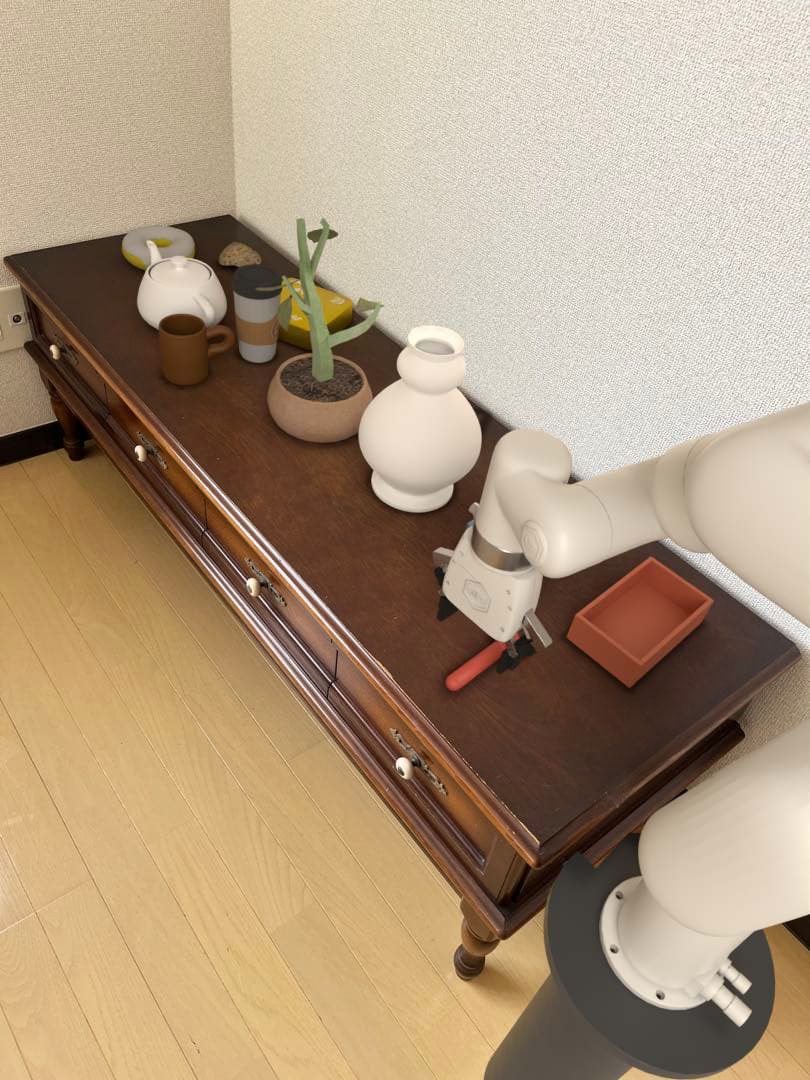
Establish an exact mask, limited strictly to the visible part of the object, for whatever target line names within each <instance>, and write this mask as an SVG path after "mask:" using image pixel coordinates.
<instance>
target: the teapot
mask: <svg viewBox="0 0 810 1080" xmlns="http://www.w3.org/2000/svg"><path fill="white" fill-rule="evenodd" d="M146 243H147V246H148V248H149V251H150V257H151V265H150V266H149V267H148V268H147V270H146V271H144V274H143V276H142V279H141V282H140V284H139V288H138V291H137V292H138V293H137V297H136V298H137V299H136V305H137V309H138V312H139V314H140V316H141V317H142V319H143V320H144V321H145V322H146V323H147V324H148V325H149V326H151V327H153V328H154V329H156V330H157V331H159V323H160V321H161V320H162V319H163V318H165V317H167V316H169V315H173V314H191V315H194V316H197V317H199V318H201V319H202V320H203V321H204V323H205V325H206V329H208V328H211V327H214V326H216V325H219V324H220V323H221V322H222V320H223V319H224V318H225V315H226V313H227V308H228V306H227V305H228V303H227V298H226V294H225V291H224V288H223V287H222V285H221V282H220V280H219V278H218V276H217V275H216V273H215V271H214V269H212V267H211V266H210V265H209V264H208V263H205V262H203V261H201V260H198V259H195V258H193V259H191V258H186V257H184V256H174V257H172V258H166V259H162V257H161V255H160V253H159V250H158V248H157V246H156V245H155V243H154V242H152V241H150V240H148V241H146Z"/></svg>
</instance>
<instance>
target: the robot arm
mask: <svg viewBox="0 0 810 1080" xmlns="http://www.w3.org/2000/svg"><path fill="white" fill-rule="evenodd" d="M572 468H573V459H572V454H571V452H570V450H569V448H568V447H567V445H566V444H565V443H564V442H563V441H562V440H561V439H560V438H558V437H556V436H555V435H553V434H551V433H550V432H547V431H545V430H542V429H537V428H518V429H517V428H516V429H513V430H511V431H509V432H507V433H505V434H504V435H503V436H501V437H500V439H499V440H498V441H497V443H496V444H495V447H494V449H493V452H492V456H491V459H490V463H489V466H488V471H487V473H486V474H487V475H486V477H485V482H484V486H483V489H482V494H481V496H480V500H479V503H478V502H473V503H472V504H471V505H470V506H469V508H468V509H467V510H468V513H469V514H470V515H471V516H472V518H473V519H474V523H473V526H471V527H469V528H468V529H467V530H466V529H465V530H466V531H464V533H463V534H462V536H461V537H460V539H459V541H458V543H457V544H456V547H455V548H454V550H453V549H449V548H445V547H442V546H440V547H438V548H436V549H434V550H433V551H432V552H431V557H432V561H433V566H434V569H433V573H434V576H435V578H436V580H437V582H438V585H439V586H438V587H437V593H438V594H439V595H440V598H439V601H438V605H437V606H438V607H437V608H438V610H437V614H436V620H438V622H444V621H445V620H447V619H448V618H449V617H451V616H452V615H454V614H456V613H457V612H458V611H460V612H461V613H463V614H464V615H465V616H466V617H467V618H468V619H470V620H471V621H472V622H473V623H474V624H475V625H477V626H478V627H479V628H480V629H481V630H482V631H484V632H485V634H487V635H488V636H490V637H491V638H492V639H494V640H495V639H496V640H498V641H500V642H505V645H506V649H505V650H504V651H503V652H502V654H501V657H500V658H499V659H498V662H497V665H496V668H495V671H496V673H497V674H498V675H499V676H501V675H502V674H504V673H506V671H507V670H509V671H510V672H512V671H514V670H515V669H517V668H518V667H519V665H520V664H521V660H522V658H523V656H524V657H532V656H534V655H535V654H539V653H541V652H543V651H546V649H548V648H549V647H551V646H552V645H553V639H552V638H551V636H550V635H549V633H548V632H547V630H546V628H545V627H544V625H543V624H542V623H541V621H540V619H539V618H538V617H537V615H536V614H535V612H536V609H537V607H538V602H539V599H540V594H541V591H542V584H543V579H544V578H543V577H546V578H548V579H549V578H550V579H562V578H565V577H569V576H571V575H574V574H576V573H578V572H581V571H583V570H587V569H588V568H590V567H591V568H592V567H593V566H596V565H597V564H600V563H602V562H604V561H606V560H609V559H611V558H613V557H616V556H619V555H621V554H623V553H626V552H629V551H631V550H634V549H636V548H638V547H641V546H644V545H647V544H649V543H652V542H656V541H660V540H663V539H669V540H671V542H673V543H674V544H675V545H676V546H678V547H680V548H681V549H684V550H686V551H687V552H691V553H695V554H701V555H702V554H704V555H705V554H711V555H712V556H713V557H714V558H715V559H716V560H717V561H718V562H720V563H721V564H722V565H723V566H724V567H725V568H727V569H728V570H729V571H730V572H732V573H733V574H734V575H735V576H737V577H738V578H739V579H740V580H741V581H743V582H744V583H745V584H746V585H748V586H749V587H751V588H752V589H754V591H756V592H757V593H759V594H760V595H762V596H763V597H764V598H766V599H767V600H769V601H770V602H771V603H773V604H774V605H776V606H777V607H778V608H780V609H781V610H783V611H784V612H785V613H787V614H788V615H790V617H792V618H794V619H795V620H797V621H798V622H799V623H801V624H802V625H803V626H805V627H807V628H808V629H810V401H807V402H804V403H801V404H798V405H794V406H790V407H788V408H785V409H781V410H779V411H776V412H772V413H769V414H766V415H763V416H760V417H758V418H754V419H751V420H748V421H744V422H742V423H739V424H736V425H733V426H730V427H727V428H724V429H721V430H717V431H714V432H712V433H709V434H705V435H702V436H700V437H695V438H692V439H689V440H686V441H683V442H680V443H678V444H675V445H673V446H671V447H670V448H668V449H667V450H666V451H665V452H664V453H663V454H660V455H658V456H653V457H651V458H647V459H644V460H641V461H638V462H634V463H632V464H628V465H624V466H622V467H618V468H615V469H612V470H610V471H606V472H603V473H600V474H597V475H594V476H592V477H588V478H585V479H582V480H580V481H576V482H574V483H572V484H571V483H570V484H569V483H568V482H569V479H570V477H571V473H572V470H573V469H572ZM516 633H518V636H519V638H520V639H517V640H516V641H515V639H514V635H515V634H516ZM640 833H641V836H640V840H639V847H638V857H639V865H640V870H641V874H642V876H638V877H633V878H630V879H628V880H626V881H624V882H622V883H621V884H619V885H618V886H617V887H616V888H615V889H614V890H613V891H612V892H611V893H610V895H609V896H608V898H607V899H606V901H605V903H604V905H603V908H602V911H601V914H600V922H599V932H600V940H601V944H602V948H603V952H604V954H605V956H606V959H607V961H608V963H609V965H610V967H611V968H612V970H613V971H614V973H615V975H616V976H617V977H618V978H619V979H620V981H621V982H622V983H623V984H624V985H625V986H626V987H627V988H628V989H629V990H630V991H631V992H633V993H634V994H635V995H636V996H638V997H639V998H641V999H643V1000H644V1001H646V1002H647V1003H650V1004H652V1005H655V1006H657V1007H660V1008H664V1009H669V1010H686V1009H690V1008H694V1007H696V1006H698V1005H700V1004H702V1003H704V1002H705V1001H706V1000H707V1001H709V1000H710V999H712V1000H713V1001H714V1002H715V1003H716V1004H717V1005H718V1006H719V1007H720V1008H721V1009H722V1010H723V1012H724V1013H725V1014H726V1015H727V1016H728V1017H729V1018H730V1019H731V1020H732V1021H733V1022H734V1023H735V1024H736V1025H738V1026H739V1027H740V1026H741V1025H742V1024H743V1023H744V1022H745V1021H746V1020H747V1019H748V1017H749V1016H750V1014H751V1012H752V1010H751V1009H750V1008H749V1007H747V1006H746V1005H745V1004H744V1003H743V1002H742V1001H741V1000H740V999H739V998H738V997H737V996H736V995H735V996H734V995H733V994H732V993H731V992H730V991H729V990H728V989H727V988H726V987H725V986H724V985H723V983H724V980H723V978H724V976H725V977H726V978H727V979H728V980H729V981H730V982H731V983H732V985H733V986H734V987H735V988H736V989H737V990H738V991H739V992H741V993H742V994H744V993H745V992H746V991H747V990H748V989H749V987H750V986H751V984H752V983H751V982H750V981H749V980H748V979H747V978H746V977H745V976H744V975H742V974H741V973H739V972H738V971H737V970H736V969H735V968H734V967H733V966H732V965H731V962H732V961H730V960H729V959H728V958H727V957H728V956H729V954H730V953H731V952H732V951H733V950H734V949H735V948H736V947H737V946H739V945H740V944H741V943H742V942H743V941H744V940H745V939H746V938H747V937H748V936H749V935H751V934H752V933H753V932H754V931H756V930H760V929H763V930H764V929H766V928H769V927H773V926H777V925H779V924H782V923H786V922H789V921H793V920H796V919H800V918H802V917H805V916H808V915H810V717H807V718H805V719H803V720H802V721H800V722H798V723H796V724H795V725H793V726H791V727H790V728H788V729H787V730H785V731H783V732H782V733H780V734H778V735H777V736H775V737H773V738H772V739H770V740H769V741H767V742H766V743H764V744H762V745H761V746H759V747H758V748H756V749H755V750H753V751H751V752H749V753H746V754H745V755H743V756H740V757H739V758H737V759H735V760H733V761H732V762H731V763H729V764H727V765H726V766H724V767H722V768H721V769H720V770H718V771H716V772H714V773H712V775H710V776H709V777H707V778H705V779H703V781H702V782H701V783H699V784H698V785H696V786H694V787H692V788H691V789H689V790H687V791H686V792H685V793H683V794H681V795H679V796H678V797H676V798H675V799H673V800H671V801H670V802H668V803H667V804H666V805H663V806H662V807H661V808H659V809H658V810H656V811H655V812H653V814H652V815H651V816H649V818H648V819H647V821H646V822H645V824H644V826H643V828H642V830H641V832H640ZM616 897H618V898H619V899H617V898H616ZM611 950H613V952H614V953H612V952H611ZM656 995H658V996H659V998H660V999H658V998H657V996H656Z"/></svg>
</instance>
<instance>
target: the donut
mask: <svg viewBox="0 0 810 1080" xmlns="http://www.w3.org/2000/svg"><path fill="white" fill-rule="evenodd" d="M148 240H150V241H152V242H154V243H155V245H156V246H157V248H158V250H159V253H160V255H161V257H162V259H166V258H172V257H174V256H184V257H186V258H191V259H195V255H196V254H195V253H196V248H195V246H196V245H195V241H194V239H193V236H192V235H190V234H189V233H188V232H186V231H185V230H182V229H180V228H176V227H172V226H168V225H147V226H146V225H145V226H140V227H138V228H135V229H133V230H131V231H130V232H128V233H127V234H126V235H124V237H123V240H122V242H121V244H122V245H121V252H122V255H123V257H124V258H125V259H126V260H127V262H128V263H130V264H131V265H132V266H134V267H136V268H138V269H139V270H142V271H144V272H146V270H147V268H148V267H149V266H150V265H151V257H150V251H149V248H148V246H147V243H146V241H148Z"/></svg>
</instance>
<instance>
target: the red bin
mask: <svg viewBox="0 0 810 1080" xmlns="http://www.w3.org/2000/svg"><path fill="white" fill-rule="evenodd" d="M714 602H715V600H714V599H713V598H711V597H710V596H708V595H707V594H706V593H704V592H703V591H701V590H700V589H698V588H697V587H695V586H694V585H693V584H691V583H690V582H688V581H687V580H686V579H684V578H683V577H681V576H680V575H678V574H677V573H676V572H674V571H673V570H671V569H670V568H668V567H667V566H666V565H664V564H662V562H660V561H659V560H658V559H656V558H654V557H653V556H649V557H648V558H646V559H645V560H644V561H643V562H641V563H640V564H639V565H637V566H636V567H634V569H632V570H631V571H629V572H628V573H627V574H626V575H625V576H623V577H622V578H621V579H619V580H618V581H617V582H615V584H613V585H612V586H611V587H609V588H607V589H606V590H605V591H604V592H603V593H602V594H600V595H599V596H598V597H596V598H595V599H593V601H591V602H590V603H588V604H587V605H586V606H585V607H583V608H582V609H581V610H580V611H577V613H575V615H574V617H573V620H572V622H571V624H570V627H569V629H568V632H567V635H566V637H565V638H566V639H568V640H569V641H570V642H571V643H572V644H574V645H575V646H576V647H577V648H578V649H580V650H581V651H583V652H584V653H585V654H586V655H587V656H588V657H590V658H591V659H593V660H594V661H595V662H596V663H597V664H598V665H600V666H601V667H602V668H604V669H605V670H606V671H607V672H609V674H611V675H613V676H614V677H615V678H616V679H617V680H618V681H619V682H621V683H622V684H624V685H625V686H626V687H627V688H629V689H631V687H633V686H634V685H635V684H636V683H637V682H638V681H639V680H640V679H641V678H642V677H643V676H644V675H646V674H647V673H648V672H649V671H650V670H651V669H652V668H654V667H655V666H656V665H657V664H658V663H659V662H660V661H662V659H664V658H665V656H667V655H668V654H669V653H670V652H671V651H672V650H673V649H674V648H675V647H677V646H678V645H679V644H680V643H681V642H682V641H683V640H684V639H685V638H686V637H687V636H689V634H691V633H692V632H693V631H694V630H695V629H696V628H697V627H698V626H699V625H701V624H702V622H703V620H704V619H705V617H706V615H707V614H708V612H709V610H710V609H711V607H712V605H713V603H714Z"/></svg>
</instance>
